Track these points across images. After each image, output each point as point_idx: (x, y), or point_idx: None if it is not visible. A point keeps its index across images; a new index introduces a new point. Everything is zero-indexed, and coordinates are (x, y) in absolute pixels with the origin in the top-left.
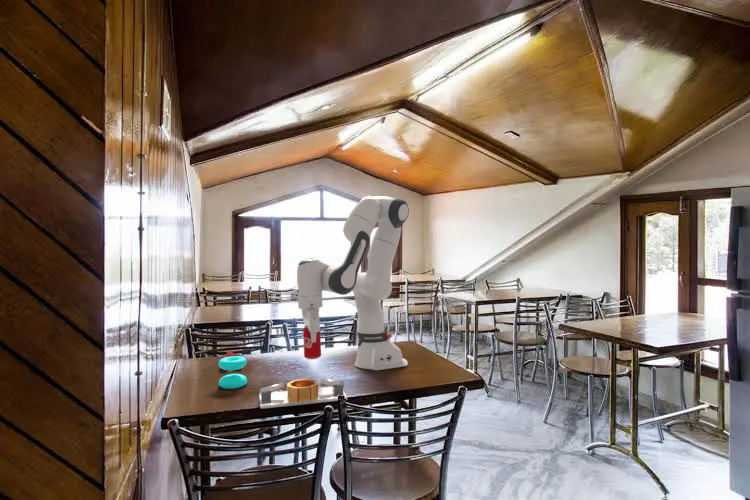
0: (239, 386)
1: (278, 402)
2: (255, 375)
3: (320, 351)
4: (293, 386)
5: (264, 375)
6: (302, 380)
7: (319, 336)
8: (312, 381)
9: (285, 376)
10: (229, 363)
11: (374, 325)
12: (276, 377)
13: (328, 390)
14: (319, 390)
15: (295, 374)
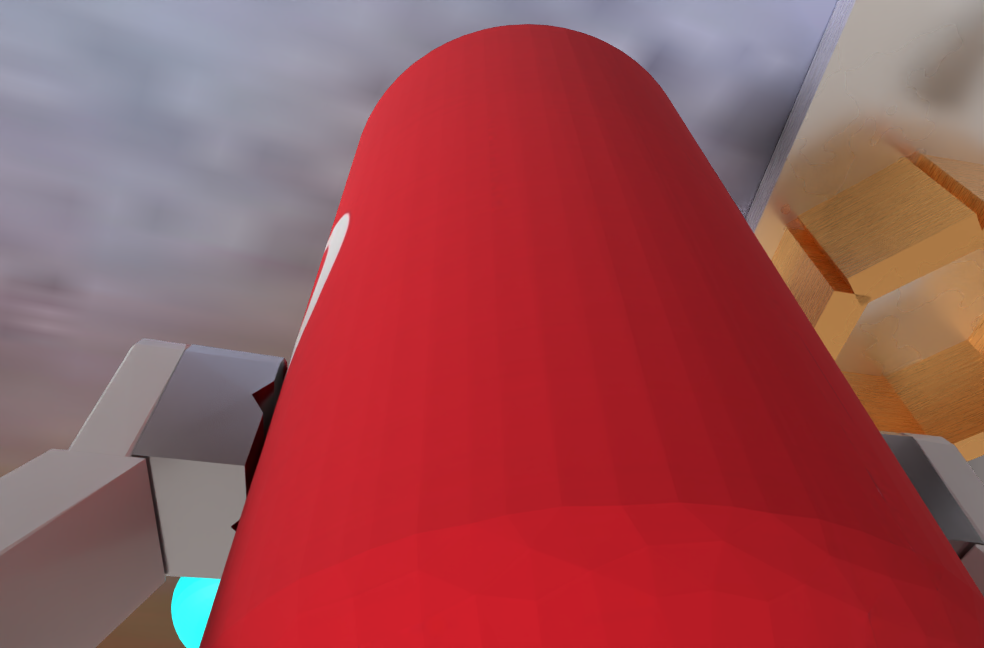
0: None
1: None
2: (29, 453)
3: (657, 98)
4: (965, 440)
5: (41, 398)
6: (850, 332)
7: (825, 359)
8: (965, 252)
9: (115, 249)
10: None
11: None
12: (135, 327)
13: (974, 11)
14: (892, 108)
15: (48, 134)
